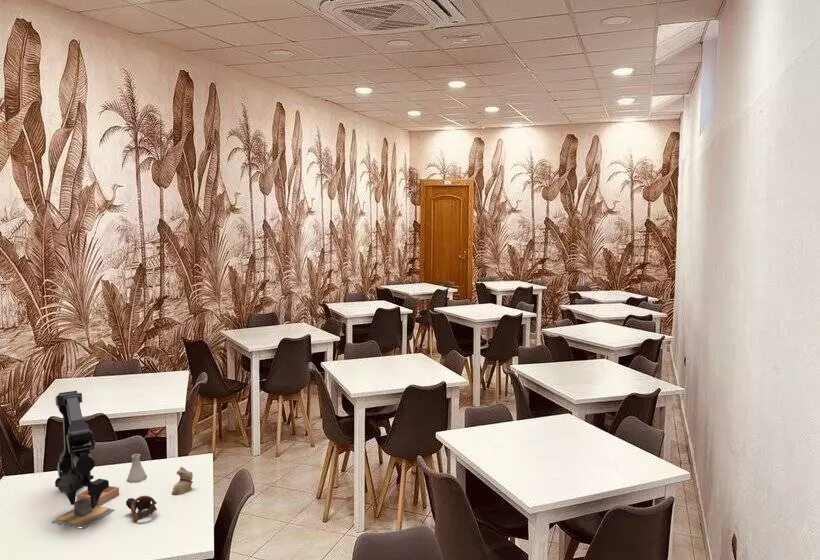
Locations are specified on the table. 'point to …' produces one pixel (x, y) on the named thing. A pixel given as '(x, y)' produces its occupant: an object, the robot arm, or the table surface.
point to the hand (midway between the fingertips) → (83, 506)
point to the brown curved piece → (141, 507)
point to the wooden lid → (82, 513)
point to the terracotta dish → (105, 496)
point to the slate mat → (87, 523)
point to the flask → (136, 470)
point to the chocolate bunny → (183, 482)
